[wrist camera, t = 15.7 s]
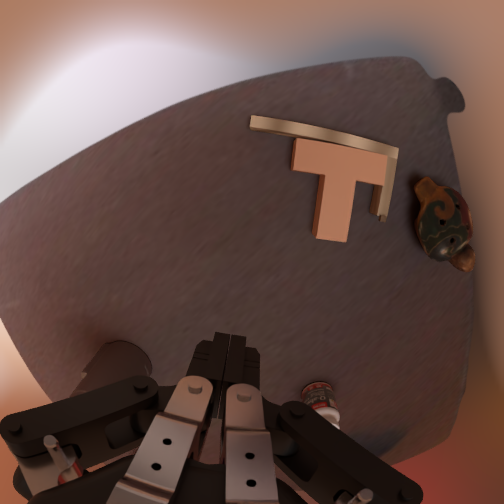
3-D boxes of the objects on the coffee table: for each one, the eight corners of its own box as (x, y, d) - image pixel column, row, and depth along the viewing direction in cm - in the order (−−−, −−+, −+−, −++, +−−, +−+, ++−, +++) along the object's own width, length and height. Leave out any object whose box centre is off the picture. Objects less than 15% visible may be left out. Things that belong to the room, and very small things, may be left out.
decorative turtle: (432, 276, 40) (455, 294, 33) (384, 201, 39) (405, 207, 31) (470, 238, 38) (498, 250, 30) (427, 163, 36) (453, 161, 29)
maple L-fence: (240, 193, 38) (238, 195, 35) (252, 119, 36) (251, 114, 32) (377, 218, 38) (387, 222, 35) (389, 149, 36) (400, 148, 32)
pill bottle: (318, 375, 46) (328, 416, 36) (338, 390, 46) (350, 429, 37) (294, 394, 47) (299, 435, 37) (314, 407, 48) (322, 446, 38)
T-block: (282, 229, 39) (284, 234, 36) (293, 141, 36) (297, 137, 33) (365, 240, 39) (373, 246, 36) (377, 156, 36) (387, 155, 33)
